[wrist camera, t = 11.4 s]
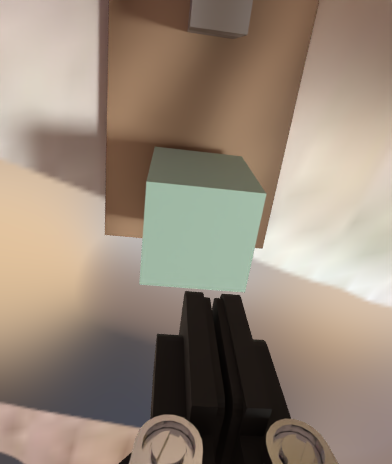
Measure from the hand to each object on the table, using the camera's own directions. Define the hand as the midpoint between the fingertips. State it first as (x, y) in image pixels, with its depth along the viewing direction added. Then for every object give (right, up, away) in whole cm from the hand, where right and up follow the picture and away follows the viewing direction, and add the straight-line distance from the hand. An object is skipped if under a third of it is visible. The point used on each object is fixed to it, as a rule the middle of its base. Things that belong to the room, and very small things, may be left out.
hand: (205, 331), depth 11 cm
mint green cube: (0, +6, +11) cm, 13 cm away
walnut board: (0, +11, +11) cm, 15 cm away
